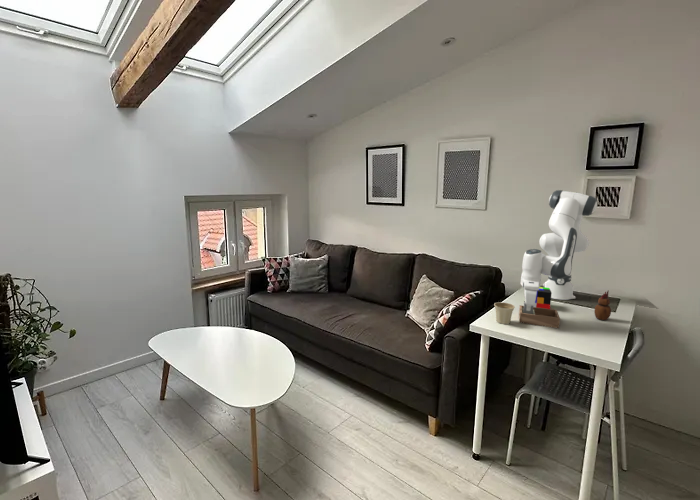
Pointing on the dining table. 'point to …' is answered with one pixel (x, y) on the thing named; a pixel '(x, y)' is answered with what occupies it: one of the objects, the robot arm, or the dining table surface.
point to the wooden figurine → (603, 308)
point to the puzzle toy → (543, 298)
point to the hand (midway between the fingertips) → (528, 308)
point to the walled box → (540, 317)
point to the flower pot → (503, 312)
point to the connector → (526, 310)
